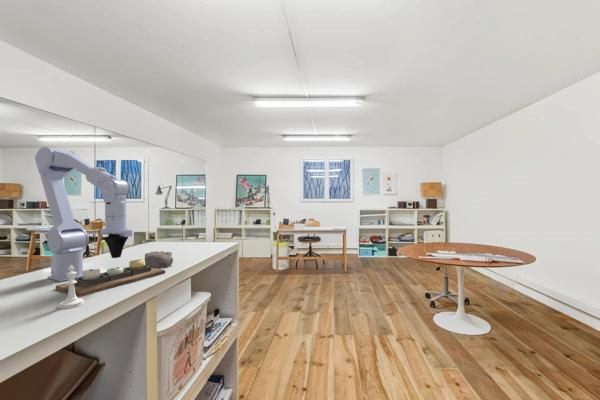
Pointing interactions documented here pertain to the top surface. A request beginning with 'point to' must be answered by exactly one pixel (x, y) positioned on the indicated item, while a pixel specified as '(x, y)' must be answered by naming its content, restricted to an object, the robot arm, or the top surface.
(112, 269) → the button two
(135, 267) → the button three
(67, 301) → the chess piece
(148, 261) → the stone
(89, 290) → the button board
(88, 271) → the button one
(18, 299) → the top surface
